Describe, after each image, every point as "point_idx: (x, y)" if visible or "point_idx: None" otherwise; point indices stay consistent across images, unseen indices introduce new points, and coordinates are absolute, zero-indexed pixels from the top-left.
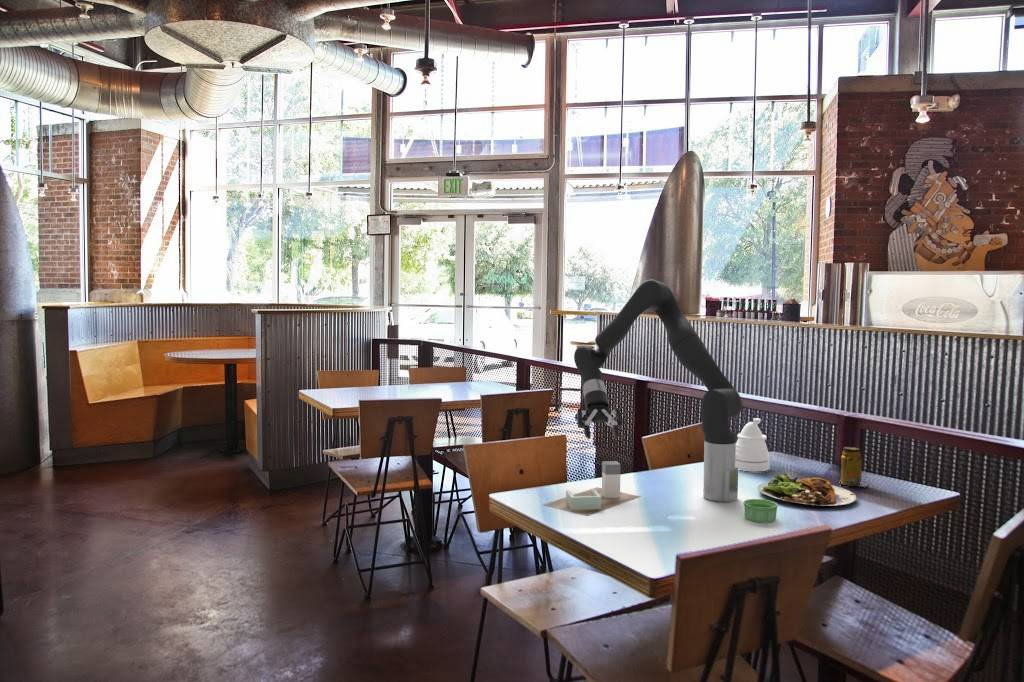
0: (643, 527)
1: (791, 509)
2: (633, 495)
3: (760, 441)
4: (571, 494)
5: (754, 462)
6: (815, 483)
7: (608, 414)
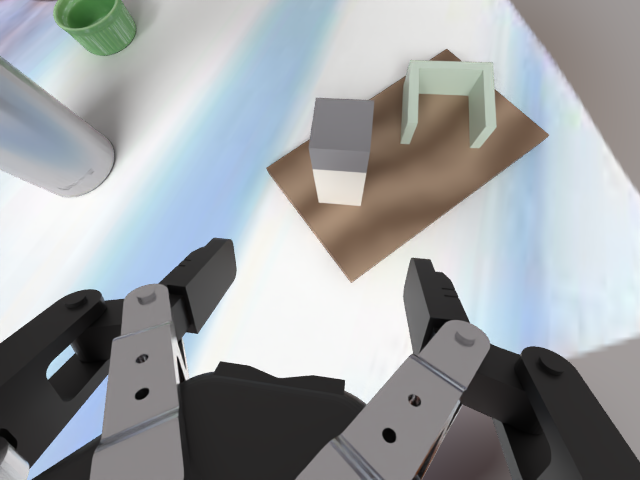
0: (344, 13)
1: None
2: (280, 179)
3: None
4: (487, 86)
5: None
6: None
7: (121, 394)
